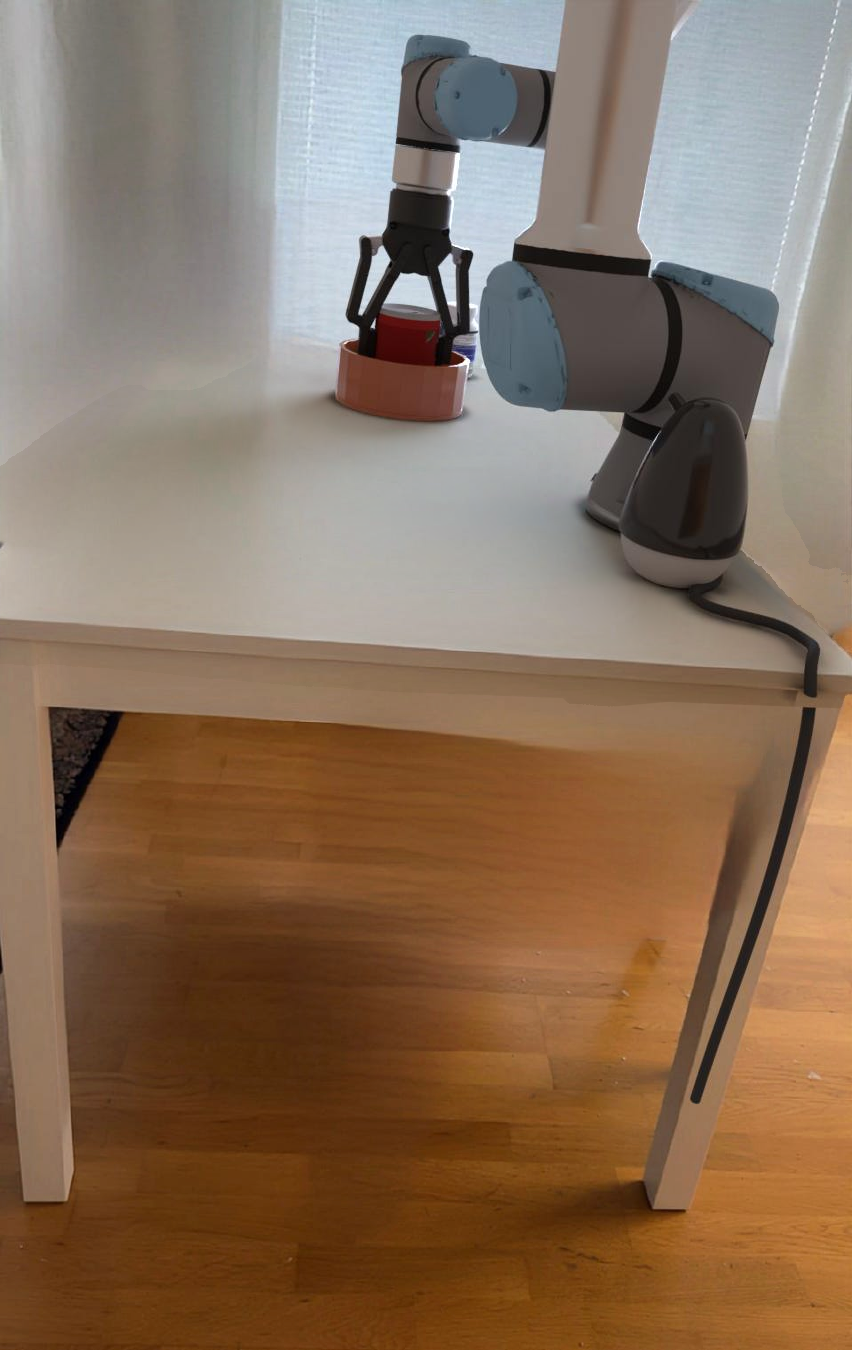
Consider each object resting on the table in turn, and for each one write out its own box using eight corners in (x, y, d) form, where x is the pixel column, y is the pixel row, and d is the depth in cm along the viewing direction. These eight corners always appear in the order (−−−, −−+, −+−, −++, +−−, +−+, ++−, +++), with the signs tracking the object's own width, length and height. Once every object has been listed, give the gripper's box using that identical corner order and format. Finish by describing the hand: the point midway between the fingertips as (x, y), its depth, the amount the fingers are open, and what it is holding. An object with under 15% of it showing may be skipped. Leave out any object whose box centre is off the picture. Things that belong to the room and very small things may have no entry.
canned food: (429, 410, 132) (441, 318, 127) (365, 401, 132) (375, 309, 127) (430, 396, 139) (441, 309, 134) (369, 388, 139) (378, 300, 134)
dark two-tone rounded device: (684, 553, 97) (726, 384, 90) (753, 599, 88) (806, 417, 82) (586, 554, 93) (623, 379, 86) (650, 603, 85) (695, 412, 78)
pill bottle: (430, 368, 159) (438, 299, 154) (467, 372, 160) (477, 303, 156) (437, 377, 154) (446, 305, 149) (475, 380, 155) (486, 309, 151)
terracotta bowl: (472, 426, 130) (480, 372, 127) (340, 414, 127) (345, 358, 124) (449, 395, 144) (456, 345, 141) (330, 383, 141) (334, 333, 138)
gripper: (501, 199, 130) (474, 387, 140) (331, 176, 126) (316, 372, 136) (515, 204, 123) (486, 400, 134) (336, 180, 119) (320, 385, 129)
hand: (400, 386), depth 135 cm, fingers closed on canned food, 8 cm apart
